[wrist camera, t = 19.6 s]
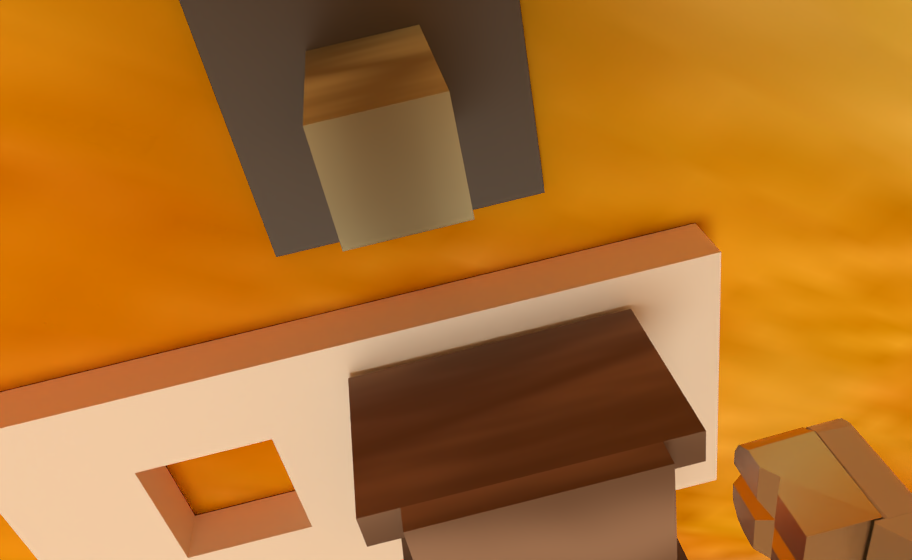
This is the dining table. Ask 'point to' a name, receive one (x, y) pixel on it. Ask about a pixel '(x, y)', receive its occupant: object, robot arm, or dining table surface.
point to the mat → (344, 19)
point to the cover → (526, 448)
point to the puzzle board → (315, 406)
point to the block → (384, 138)
